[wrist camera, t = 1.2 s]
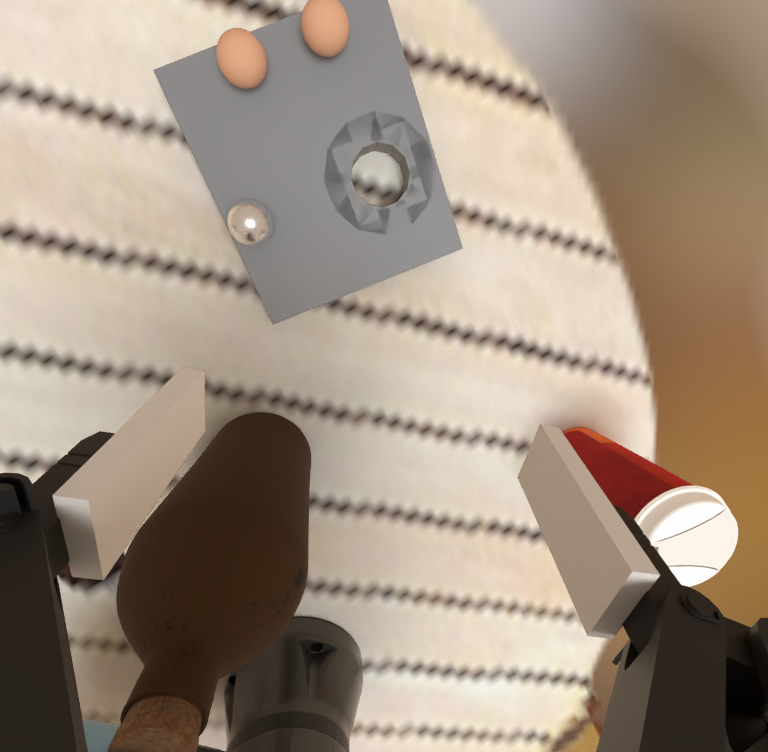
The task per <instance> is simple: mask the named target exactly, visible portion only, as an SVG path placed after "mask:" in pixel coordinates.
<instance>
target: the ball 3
mask: <svg viewBox="0 0 768 752" xmlns="http://www.w3.org/2000/svg"><path fill="white" fill-rule="evenodd" d="M301 27H302V33H303V36H304V39H305V41H306V43H307V44H308V46H309V47H310V48H311V50H313V51H314V52H315V53H316V54H318V55H320V56H323V57H332V56H335V55H337V54H338V53H340V52H341V51H342V50H343V48H344V47H345V45H346V43H347V41H348V37H349V19H348V16H347V13H346V11H345V9H344V7H343V6H342V4H341V3H340V2H339V1H338V0H309V1H308V2H307V4H306V5H305V7H304V9H303V13H302V18H301Z"/></svg>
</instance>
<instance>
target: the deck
mask: <svg viewBox="0 0 768 752" xmlns="http://www.w3.org/2000/svg"><path fill="white" fill-rule="evenodd" d="M338 1H339V2H340V3H341V4H342V6H343V7H344V9H345V11H346V13H347V16H348V19H349V37H348V41H347V43H346V45H345V47H344V48H343V50H342V51H341V52H340V53H338V54H337V55H335V56H332V57H323V56H320V55H318V54H316V53H315V52H314V51H313V50H311V48H310V47H309V46H308V44H307V43H306V41H305V39H304V36H303V33H302V27H301V18H302V13H303V11H302V12H300V13H297V14H294V15H292V16H289V17H287V18H284V19H282V20H279V21H277V22H274V23H272V24H269V25H266V26H264V27H261V28H259V29H256V30H254V31H251V32H250V33H252V34H253V35H254V36H255V37H256V38H257V39H258V40H259V42H260V43H261V45H262V46H263V49H264V51H265V54H266V58H267V71H266V75H265V77H264V79H263V81H262V82H261V83H260V84H259V85H258V86H256V87H254V88H250V89H244V88H239V87H237V86H235V85H233V84H232V83H231V82H229V81H228V80H227V78H226V77H225V76H224V75H223V73H222V71H221V69H220V67H219V65H218V61H217V55H216V50H217V45H216V46H213V47H211V48H208V49H206V50H203V51H200V52H198V53H195V54H193V55H190V56H188V57H185V58H183V59H180V60H178V61H175V62H173V63H170V64H167V65H165V66H162V67H160V68H157V69H155V70H153V71H154V73H155V75H156V77H157V79H158V81H159V83H160V85H161V88H162V90H163V92H164V94H165V96H166V98H167V100H168V102H169V105H170V107H171V109H172V111H173V113H174V115H175V117H176V119H177V122H178V124H179V126H180V128H181V130H182V132H183V134H184V136H185V139H186V141H187V143H188V145H189V147H190V149H191V151H192V153H193V156H194V158H195V160H196V162H197V164H198V166H199V168H200V170H201V173H202V175H203V177H204V179H205V181H206V183H207V185H208V187H209V190H210V192H211V194H212V196H213V198H214V200H215V202H216V204H217V207H218V209H219V211H220V213H221V215H222V217H223V219H224V221H225V224H226V226H227V228H228V230H229V227H228V221H227V219H228V214H229V211H230V209H231V208H232V207H233V206H234V205H235V204H236V203H238V202H240V201H243V200H253V201H256V202H259V203H260V204H262V205H263V206H264V207H266V209H267V210H268V211H269V213H270V215H271V217H272V220H273V231H272V234H271V236H270V238H269V239H268V240H267V241H266V242H265V243H263V244H261V245H258V246H247V245H244V244H242V243H240V242H239V241H237V240H236V239H235V238H234V237H233V235H232V234H231V232H230V230H229V232H230V234H231V236H232V238H233V241H234V243H235V245H236V247H237V249H238V251H239V253H240V256H241V258H242V260H243V262H244V264H245V266H246V268H247V270H248V273H249V275H250V277H251V279H252V281H253V283H254V285H255V287H256V290H257V292H258V294H259V296H260V298H261V300H262V302H263V304H264V307H265V309H266V311H267V313H268V315H269V317H270V319H271V321H272V324H275V323H278V322H280V321H283V320H285V319H288V318H290V317H293V316H295V315H298V314H300V313H303V312H305V311H308V310H310V309H313V308H315V307H318V306H320V305H323V304H325V303H328V302H330V301H333V300H335V299H338V298H340V297H343V296H345V295H348V294H350V293H353V292H355V291H358V290H360V289H363V288H365V287H368V286H370V285H373V284H375V283H378V282H380V281H383V280H385V279H388V278H390V277H393V276H395V275H398V274H400V273H403V272H405V271H408V270H410V269H413V268H415V267H418V266H420V265H423V264H425V263H428V262H430V261H433V260H435V259H438V258H440V257H443V256H445V255H448V254H450V253H453V252H455V251H458V250H460V249H463V248H462V244H461V241H460V238H459V234H458V231H457V228H456V225H455V221H454V218H453V215H452V211H451V208H450V205H449V201H448V198H447V195H446V192H445V188H444V185H443V182H442V178H441V175H440V172H439V168H438V165H437V162H436V159H435V155H434V152H433V149H432V145H431V142H430V139H429V135H428V132H427V129H426V126H425V122H424V119H423V116H422V112H421V109H420V106H419V102H418V99H417V96H416V92H415V89H414V86H413V83H412V79H411V76H410V73H409V69H408V66H407V63H406V59H405V56H404V53H403V50H402V46H401V43H400V40H399V36H398V33H397V30H396V26H395V23H394V20H393V17H392V13H391V10H390V7H389V3H388V0H338ZM372 151H379V152H384V153H388V154H390V155H391V156H392V157H393V158H394V159H395V160H396V161H397V162H398V163H399V164H400V166H401V169H402V172H403V176H404V179H405V180H404V186H403V193H402V195H401V197H400V198H399V199H398V200H397V202H396V203H394V204H391V205H388V206H386V207H378V206H373V205H368V204H367V203H366V202H365V201H364V200H363V199H362V198H360V197H359V196H358V195H357V194H356V191H355V188H354V186H353V183H352V180H351V171H352V167H353V166H354V164H355V163H356V161H357V160H358V159H359V157H360V156H362V155H364V154H367V153H369V152H372Z"/></svg>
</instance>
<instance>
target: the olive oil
mask: <svg viewBox="0 0 768 752" xmlns="http://www.w3.org/2000/svg"><path fill="white" fill-rule="evenodd" d="M310 469H311V452H310V448H309V444H308V442H307V440H306V438H305V436H304V434H303V433H302V432H301V431H300V429H299V428H298V427H297V426H295V425H294V424H293V423H292V422H290V421H289V420H287V419H285V418H283V417H280V416H278V415H274V414H270V413H251V414H246V415H243V416H240V417H238V418H236V419H234V420H232V421H231V422H229V423H228V424H226V425H225V426H224V427H223V428H222V429H221V430H220V432H219V433H218V434H217V435H216V437H215V438H214V439H213V440H212V442H211V443H210V444H209V446H208V447H207V448H206V450H205V451H204V452H203V454H202V455H201V456H200V457H199V458H198V460H197V461H196V462H195V463H194V465H193V466H192V467H191V468H190V469H189V471H188V472H187V473H186V474H185V475H184V477H183V478H182V479H181V480H180V482H179V483H178V484H177V485H176V486H175V488H174V489H173V490H172V491H171V492H170V493H169V495H168V496H167V497H166V498H165V499H164V501H163V502H162V503H161V504H160V505H159V506H158V508H157V509H156V510H155V511H154V512H153V513H152V515H151V516H150V517H149V518H148V519H147V521H146V522H145V523H144V524H143V526H142V527H141V528H140V530H139V531H138V532H137V534H136V535H135V537H134V539H133V540H132V542H131V544H130V546H129V548H128V550H127V553H126V555H125V558H124V561H123V565H122V568H121V572H120V576H119V581H118V586H117V611H118V616H119V620H120V623H121V626H122V629H123V631H124V633H125V635H126V637H127V639H128V641H129V642H130V644H131V645H132V647H133V649H134V650H135V652H136V653H137V655H138V656H139V658H140V659H141V661H142V662H143V664H144V666H145V667H144V669H143V671H142V673H141V675H140V677H139V679H138V681H137V683H136V685H135V687H134V689H133V691H132V693H131V695H130V697H129V699H128V701H127V703H126V705H125V707H124V708H123V711H122V713H121V726H120V727H119V728H118V729H117V731H116V733H115V735H114V737H113V739H112V742H111V744H110V746H109V748H108V751H107V752H196V750H197V747H198V742H199V736H200V735H201V734H202V732H203V731H204V729H205V728H206V725H207V722H208V717H209V713H210V710H211V706H212V702H213V698H214V694H215V690H216V685H217V681H218V679H220V678H222V677H224V676H226V675H227V674H229V673H231V672H233V671H235V670H237V669H239V668H241V667H242V666H244V665H246V664H248V663H249V662H251V661H253V660H254V659H256V658H257V657H259V656H260V655H262V654H263V653H264V652H265V651H266V650H268V649H269V648H270V647H271V646H272V645H273V644H274V643H275V642H276V641H277V640H278V639H279V637H280V636H281V635H282V634H283V632H284V631H285V629H286V628H287V626H288V625H289V623H290V621H291V620H292V618H293V616H294V614H295V612H296V610H297V608H298V605H299V603H300V601H301V598H302V595H303V592H304V589H305V585H306V580H307V573H308V526H309V485H310Z"/></svg>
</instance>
